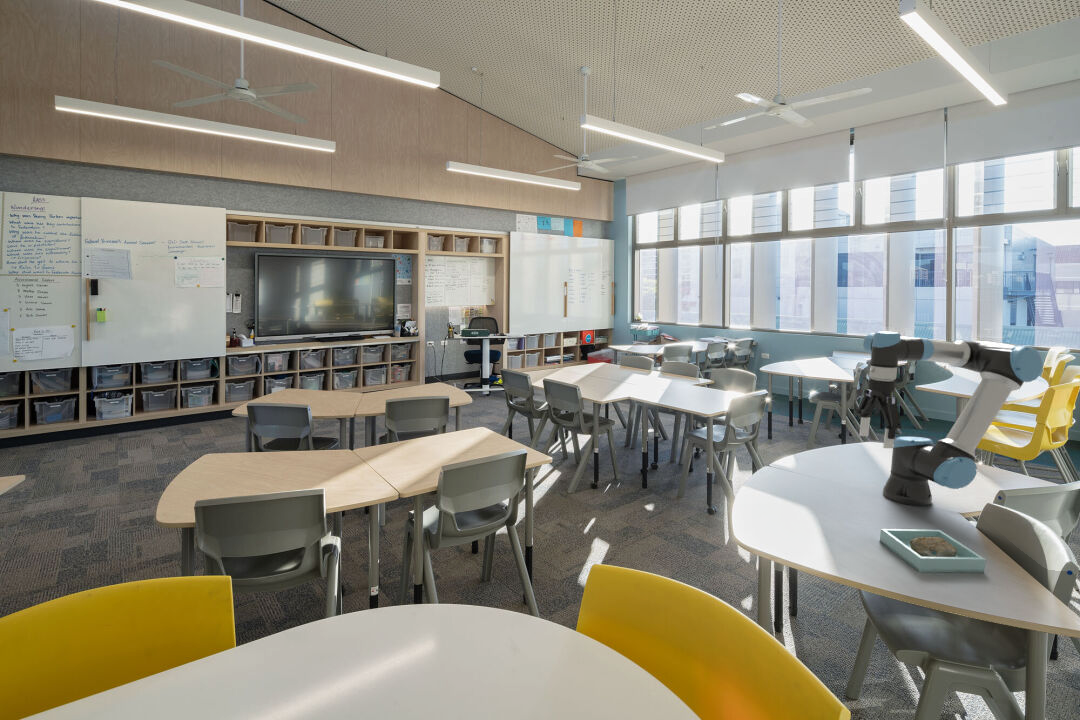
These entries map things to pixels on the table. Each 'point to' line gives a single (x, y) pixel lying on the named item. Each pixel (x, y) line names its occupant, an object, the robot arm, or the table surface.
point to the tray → (960, 563)
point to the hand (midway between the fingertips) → (875, 441)
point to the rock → (932, 547)
